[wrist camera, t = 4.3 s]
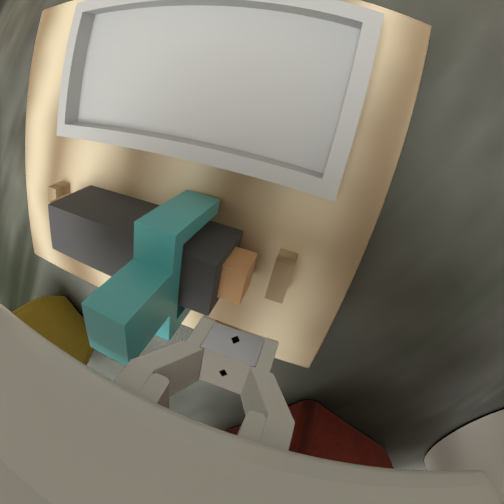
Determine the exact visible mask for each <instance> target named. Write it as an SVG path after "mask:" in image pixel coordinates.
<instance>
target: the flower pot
mask: <svg viewBox="0 0 504 504" xmlns="http://www.w3.org/2000/svg"><path fill="white" fill-rule="evenodd" d="M12 313H13V314H14V315H15V316H17V317H18V318H19V319H20V320H22V321H23V322H24V323H25V324H27V325H28V326H29V327H31V328H32V329H33V330H35V331H36V332H37V333H39V334H40V335H41V336H43V337H44V338H46V339H47V340H48V341H50V342H51V343H53V344H54V345H56V346H57V347H59V348H60V349H61V350H63V351H64V352H66V353H68V354H69V355H71V356H72V357H74V358H75V359H77V360H78V361H80V362H82V363H83V364H85V365H87V363H88V361H89V359H90V357H91V354H92V351H93V348H92V347H90V344H89V339H88V335H87V331H86V326H85V321H84V318H83V317H82V316H81V315H80V314H79V312H78V311H77V310H76V309H75V307H74V306H73V305H72V304H71V302H70V301H69V300H68V299H67V298H66V297H65V296H45V297H41V298H37V299H35V300H32V301H30V302H28V303H26V304H25V305H23V306H21V307H20V308H18V309H16V310H14V311H13V312H12Z"/></svg>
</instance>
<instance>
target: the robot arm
mask: <svg viewBox="0 0 504 504" xmlns="http://www.w3.org/2000/svg"><path fill="white" fill-rule="evenodd" d="M264 340H265V341H264ZM278 344H279V343H278V341H276V340H273V339H270V338H267V337H266V338H265V337H263V336H260V335H257V334H254V333H251V332H248V331H245V330H242V329H239V328H237V327H234V326H231V325H229V324H226V323H224V322H221V321H219V320H215V319H213V318H210V317H208V316H205V315H204V316H203V317H202V318H201V319H200V321H199V322H198V324H197V325H196V327H195V328H194V330H193V331H192V333H191V335H190V336H189V338H188V339H187V341H186V342H185V341H183V340H182V341H179V342H177V343H174V344H172V345H169V346H166V347H164V348H161V349H158V350H156V351H153V352H150V353H147V354H145V355H142V356H139V357H136V358H134V359H131V360H130V361H129V363H128V364H127V365H126V367H125V368H124V369H123V370H122V372H121V373H120V374H119V376H118V377H117V378H116V379H115V381H112V380H110V379H109V378H107V377H105V376H103V375H102V374H100V373H98V372H96V371H95V370H93V369H91V368H90V367H88V366H86V365H85V364H83V363H82V362H80V361H78V360H77V359H75V358H74V357H72V356H71V355H69V354H68V353H66V352H64V351H63V350H61V349H60V348H59V347H57V346H56V345H54V344H53V343H51V342H50V341H48V340H47V339H46V338H44V337H43V336H41V335H40V334H39V333H37V332H36V331H35V330H33V329H32V328H31V327H29V326H28V325H27V324H25V323H24V322H23V321H22V320H20V319H19V318H18V317H17V316H15V315H14V314H13V313H12V312H10V311H9V310H8V309H7V308H6V307H4V306H3V305H2V304H1V303H0V504H504V409H503V410H501V411H498V412H495V413H492V414H490V415H487V416H485V417H482V418H480V419H478V420H476V421H474V422H472V423H469V424H467V425H466V426H464V427H462V428H460V429H458V430H456V431H455V432H453V433H451V434H450V435H448V436H447V437H445V438H444V439H442V440H441V441H440V442H438V443H437V444H436V445H435V446H433V447H432V448H431V449H430V450H429V452H428V453H427V454H426V456H425V458H424V464H425V466H426V469H427V471H422V470H404V469H392V468H382V467H373V466H365V465H358V464H351V463H345V462H339V461H334V460H328V459H323V458H318V457H314V456H309V455H305V454H300V453H296V452H292V451H288V450H289V446H290V442H291V438H292V433H293V429H294V424H295V422H294V419H293V417H292V415H291V413H290V410H289V408H288V406H287V403H286V401H285V399H284V397H283V394H282V392H281V390H280V387H279V385H278V383H277V380H276V378H275V376H274V374H273V373H270V371H271V367H272V364H273V361H274V357H275V354H276V350H277V347H278ZM199 379H200V380H202V381H205V382H208V383H211V384H214V385H216V386H219V387H222V388H224V389H227V390H229V391H232V392H235V393H237V394H240V397H241V401H242V404H243V408H244V412H245V418H244V420H243V423H242V425H241V427H240V429H239V431H238V434H237V435H234V434H231V433H228V432H225V431H223V430H220V429H217V428H214V427H212V426H209V425H206V424H204V423H201V422H199V421H196V420H194V419H191V418H189V417H186V416H184V415H182V414H179V413H177V412H175V411H173V410H170V409H169V397H170V396H172V395H174V394H175V393H177V392H179V391H181V390H182V389H184V388H186V387H188V386H189V385H191V384H193V383H195V382H196V381H198V380H199Z"/></svg>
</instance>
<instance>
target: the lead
mask: <svg viewBox="0 0 504 504" xmlns="http://www.w3.org/2000/svg"><path fill="white" fill-rule="evenodd" d="M158 206H160V205H157V204H154V203H150V202H147V201H144V200H140V199H137V198H134V197H130V196H127V195H123V194H120V193H116V192H113V191H110V190H106V189H103V188H99V187H96V186H92V185H90V186H87V187H85V188H83V189H80V190H78V191H76V192H74V193H68V194H66V195H63V196H61V197H59V198H57V199H55V200H52V201H50V202H49V204H48V212H49V223H50V233H51V241H52V248H53V249H55V250H57V251H59V252H61V253H63V254H65V255H67V256H69V257H71V258H73V259H75V260H77V261H79V262H81V263H83V264H85V265H88V266H90V267H92V268H94V269H96V270H98V271H100V272H103V273H105V274H107V275H109V276H111V277H112V276H113V275H114V274H115V273H117V272H118V271H119V270H120V269H121V268H123V267H124V266H125V265H126V264H127V263H129V262H130V261H131V260H132V259H133V258H134V221H136V220H137V219H139V218H141V217H142V216H144V215H145V214H147V213H149V212H150V211H152V210H153V209H155V208H157V207H158ZM242 235H243V231H242V230H239V229H236V228H233V227H230V226H226V225H223V224H220V223H217V222H213V221H209V222H207V223H206V224H205V225H204V226H203V227H202V228H201V229H200V230H199V231H198V232H196V233H195V234H194V235H193V236H192V237H191V238H190V239H189V240H188V241H187V242H186V243H184V244H183V251H182V260H181V271H180V281H179V293H178V305H180V306H183V307H185V308H188V309H190V310H193V311H196V312H198V313H201V314H203V315H206V316H209V314H210V313H211V311H212V310H213V308H214V306H215V305H216V303H217V302H218V300H219V298H220V299H223V300H226V301H229V302H231V303H234V304H237V305H240V303H241V301H242V299H243V297H244V295H245V293H246V291H247V289H248V287H249V285H250V283H251V279H252V275H253V271H254V267H255V263H256V259H257V255H258V253H255V252H252V251H249V250H246V249H243V248H240V244H241V240H242Z"/></svg>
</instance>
